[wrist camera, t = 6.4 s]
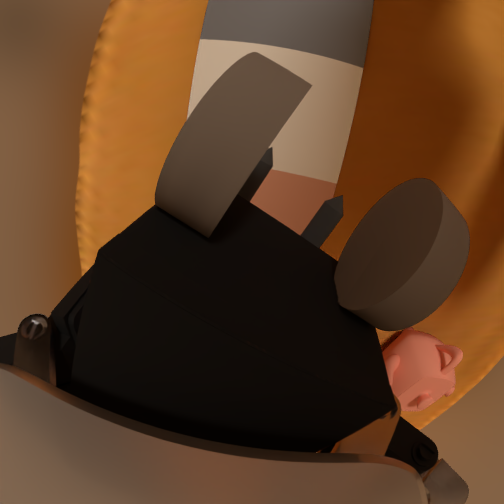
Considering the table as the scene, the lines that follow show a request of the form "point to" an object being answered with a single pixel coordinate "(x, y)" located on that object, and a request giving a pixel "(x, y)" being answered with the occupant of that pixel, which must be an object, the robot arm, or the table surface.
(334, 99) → the game board
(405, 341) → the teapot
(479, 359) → the table surface
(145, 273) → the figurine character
